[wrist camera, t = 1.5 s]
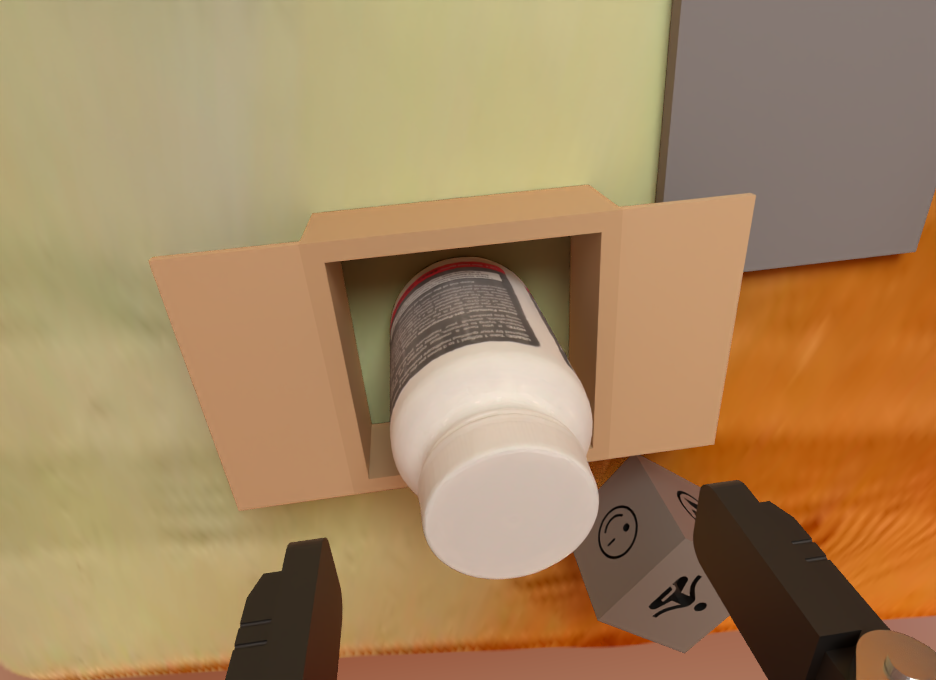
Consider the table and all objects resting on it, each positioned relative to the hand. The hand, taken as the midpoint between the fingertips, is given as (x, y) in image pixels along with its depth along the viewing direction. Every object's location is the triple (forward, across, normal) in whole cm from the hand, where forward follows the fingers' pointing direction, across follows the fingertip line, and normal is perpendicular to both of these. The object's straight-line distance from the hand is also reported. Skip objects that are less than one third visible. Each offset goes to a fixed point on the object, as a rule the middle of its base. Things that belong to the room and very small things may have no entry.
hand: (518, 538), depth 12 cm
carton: (+10, 0, 0) cm, 10 cm away
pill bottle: (+10, 0, 0) cm, 10 cm away
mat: (+10, -12, -6) cm, 17 cm away
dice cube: (+11, -7, +10) cm, 17 cm away
